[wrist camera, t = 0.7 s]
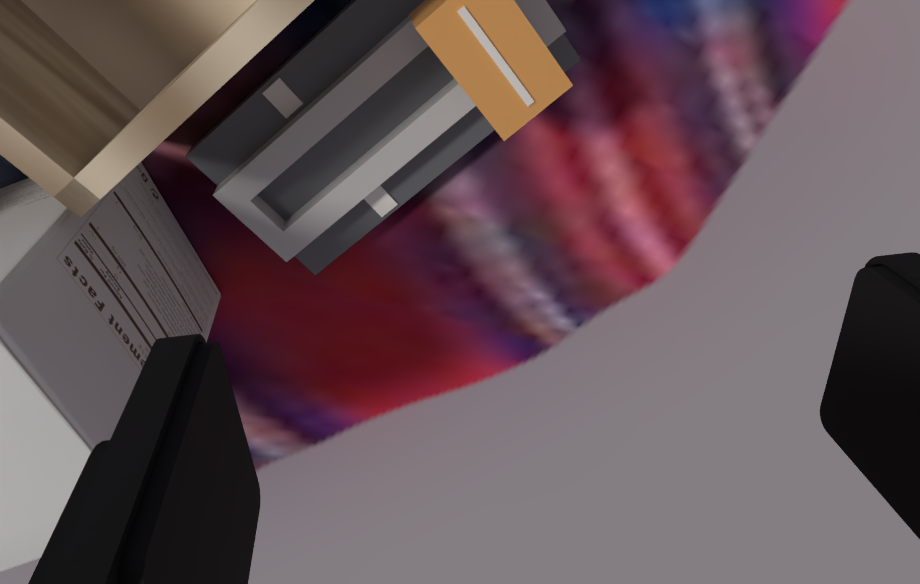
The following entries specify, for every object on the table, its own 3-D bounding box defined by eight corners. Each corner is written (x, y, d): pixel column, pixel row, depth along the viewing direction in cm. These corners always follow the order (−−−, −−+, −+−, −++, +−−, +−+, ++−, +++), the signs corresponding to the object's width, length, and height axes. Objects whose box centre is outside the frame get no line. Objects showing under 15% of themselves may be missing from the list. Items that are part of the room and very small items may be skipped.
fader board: (466, -105, 28) (476, -105, 26) (573, 54, 32) (589, 65, 29) (191, 147, 31) (179, 165, 29) (316, 264, 35) (314, 287, 33)
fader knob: (466, -48, 27) (489, -37, 23) (539, 56, 30) (574, 86, 25) (405, 7, 28) (415, 28, 24) (481, 104, 31) (504, 142, 26)
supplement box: (64, 356, 36) (-98, 615, 23) (-54, 204, 31) (-340, 421, 18) (228, 298, 35) (157, 529, 22) (133, 136, 31) (-24, 309, 18)
